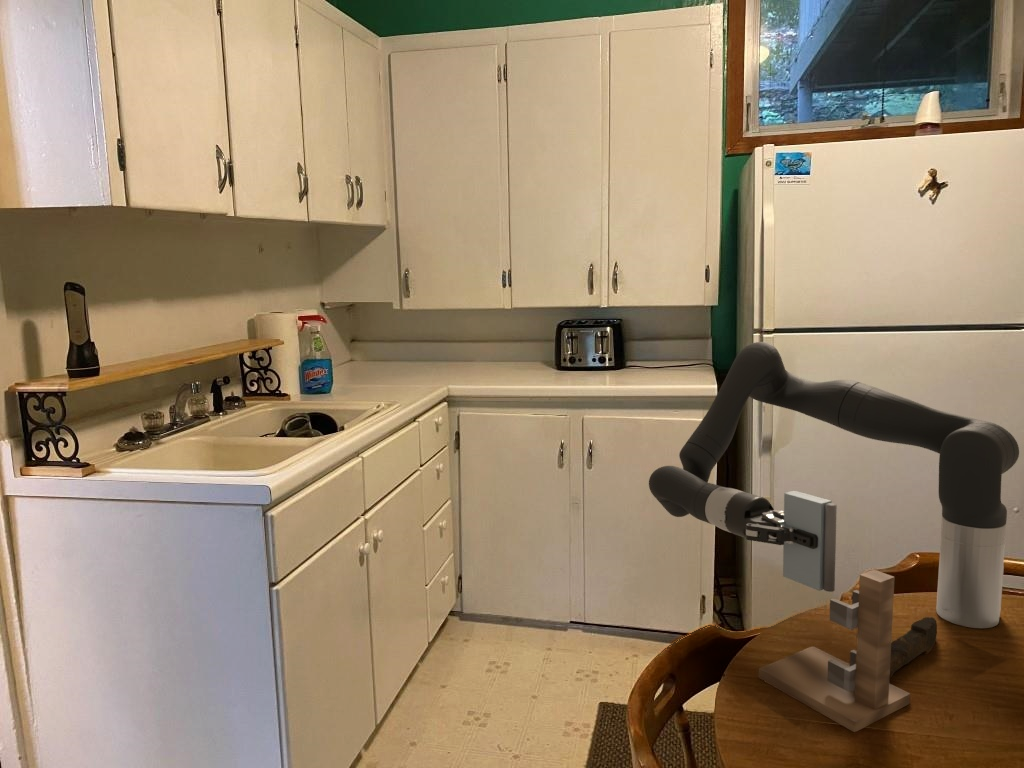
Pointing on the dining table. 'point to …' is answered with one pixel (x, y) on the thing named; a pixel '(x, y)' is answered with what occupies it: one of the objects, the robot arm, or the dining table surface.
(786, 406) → the robot arm
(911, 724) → the dining table surface
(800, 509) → the cabinet door
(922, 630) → the hand tool
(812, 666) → the hinge frame
